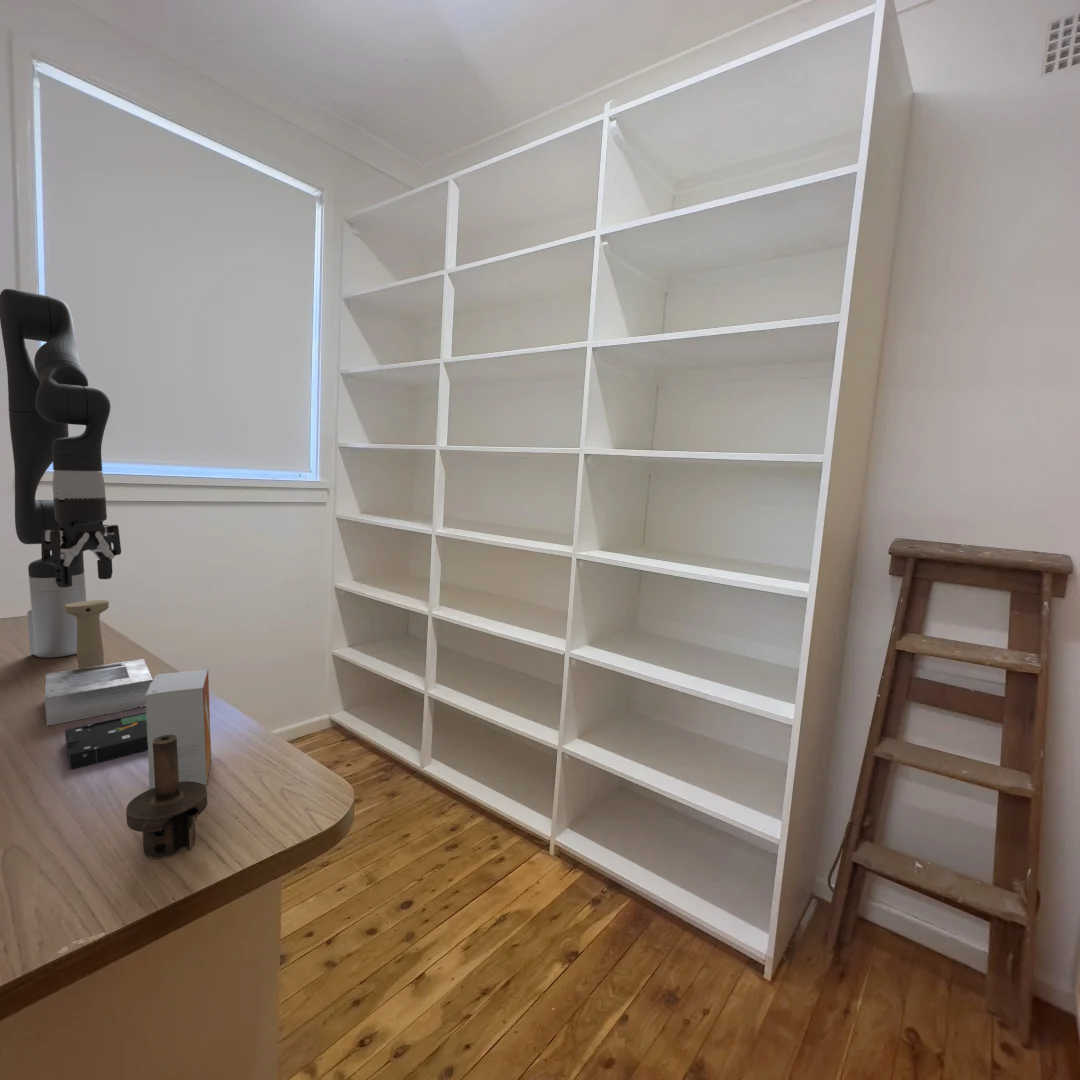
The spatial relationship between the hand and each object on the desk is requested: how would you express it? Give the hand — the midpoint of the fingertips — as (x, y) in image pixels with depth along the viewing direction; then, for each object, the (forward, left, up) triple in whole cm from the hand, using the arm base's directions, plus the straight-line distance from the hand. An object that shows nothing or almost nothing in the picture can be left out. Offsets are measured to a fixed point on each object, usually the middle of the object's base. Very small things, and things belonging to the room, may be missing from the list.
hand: (85, 582), depth 107 cm
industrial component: (+49, -43, -19) cm, 68 cm away
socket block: (+10, -9, -19) cm, 23 cm away
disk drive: (+27, -22, -20) cm, 40 cm away
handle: (0, 0, -19) cm, 19 cm away
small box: (+41, -30, -19) cm, 54 cm away
